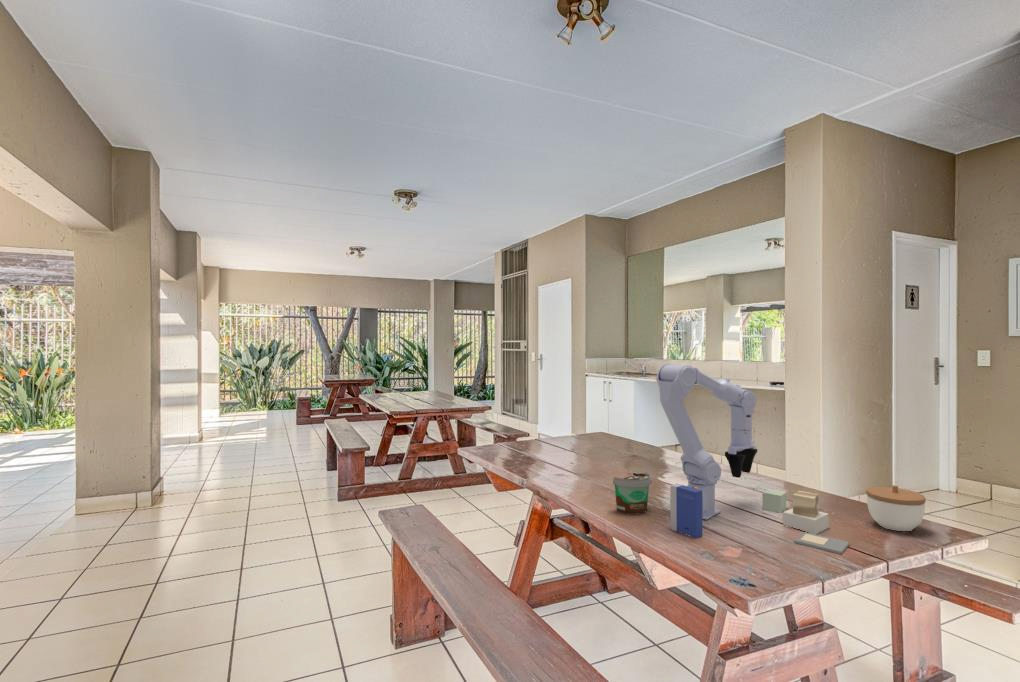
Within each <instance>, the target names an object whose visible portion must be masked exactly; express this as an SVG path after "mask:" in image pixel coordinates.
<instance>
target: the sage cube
mask: <svg viewBox="0 0 1020 682" xmlns="http://www.w3.org/2000/svg"><path fill="white" fill-rule="evenodd" d="M785 509H787V492H786V491H782V490H776V489H773V488H772V489H771V488H767V489H766V490H764V491H763V492H762V510H764V511H769V512H770V511H771V512H775V513H779V512H782V511H783V512H785V511H786V510H785ZM783 512H782V513H783Z"/></svg>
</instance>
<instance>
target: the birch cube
mask: <svg viewBox="0 0 1020 682" xmlns="http://www.w3.org/2000/svg"><path fill="white" fill-rule="evenodd" d="M819 496H820V495H819V494H818V493H815V492H814V493H813V492H810V491H809V492H808V491H804V490H803V491H802V490H797V491H796V492H794V493H793V494H792V508H793V514H798V515H803V516H808V517H813V518H815V516H816V515H817V514H818V513H819V512H820V511H819V510H820V501H819V499H820V497H819Z"/></svg>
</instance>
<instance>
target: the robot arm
mask: <svg viewBox="0 0 1020 682" xmlns="http://www.w3.org/2000/svg"><path fill="white" fill-rule="evenodd" d="M655 380H656V383H657V384H658V387H659V399H660V404H661V406H662V409H663V410H664V413H665V414H666V417H667V419H668V421H669V424H670V426H671V428H672V430H673V432H674V435H675V437H676V439H677V441H678V443H679V446H680V448H681V449H682V452H683V453H682V454H681V456H680V461H681V463H682V465H681V466H682V472H683V474H684V475H685V476H686V480H688V481H687V483H688V484H687V486H688V487H692V488H693V487H696V488H699V490H702V520H706V521H707V520H709V519H711V518H713V517H715V516H716V515H718V514H719V513H721V510H720V509H718V508H716V485H717V482H718V481H719V480H720V479H721V475H722V467H721V465H720V464H719V462H717V461H716V460H715V459H714V457H713V455H712V454H710V452H709V451H707V450H706V449H705V448H704V447H703V444H702V442H701V440H700V438H699V435H698V433H697V431H696V429H695V427H694V425H693V422H692V420H691V418H690V416H689V413H688V411H687V409H686V406H685V404H684V402H683V401H684V399H686V398H687V396H688V395H689V393H690V391H691V390H692V389H693V387H694V386H695V385H697V386H699V387H702V388H704V389H707V390H710V391H711V395H712V396H713V397H715V398H717V399H718V400H720V401H723V402H725V403H726V404H727V406H728V407H730V443H729V446H728V448H727V449H728V450H727V451H724V456H725V459H727V463H728V464H729V465H728V466H729V469H730V473H731V476H732V477H733V478H739V479H740V478H741V476H742V473H748V474H750V473H751V471H752V467H753V462H754V458H755V457H756V455H757V453H758V449H757V445H755V444H754V440H753V437H752V436H753V433H752V431H753V430H752V429H753V427H752V426H753V425H752V424H753V423H752V422H753V417H752V416H753V414H754V408H755V407H756V405H757V400H758V399H757V398H756V395H755V393H753V391H751V390H750V389H744V388H742V387H741V385H739V384H734V383H732V382H730V379H729V378H720V379H719V378H718V379H715V378H713V377H712V376H709V375H708V374H706V373H705V372H703V371H701V370H699V368H696V367H693V366H692V365H686V364H685V365H680V364H679V365H676V364H669V363H664V364H663V365H661V366H660V367H659V369H658V371H657V374H656V377H655Z"/></svg>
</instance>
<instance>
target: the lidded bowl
mask: <svg viewBox="0 0 1020 682" xmlns="http://www.w3.org/2000/svg"><path fill="white" fill-rule="evenodd" d="M865 491H866V504H867V508H868V512H869V514H870V516H871V517H872V519H873V521H875V522H876V523H877V524H878V526H879V525H880V526H882V527H884V528H888V529H894V530H899V531H911V532H913V530H914V529H915V528H917V527H918V526H919V525H920V524H921V523H922V521H923V519H924V517H925V511H926V510H925V509H926V508H925V507H926V497H925V495H923V494H922V493H919V492H917V491H912V490H908V489H905V488H900V487H899V485H894V484H892V485H891V486H871V487H867V488H866V490H865ZM880 526H879V527H880ZM882 527H881V528H882ZM884 528H883V529H884Z"/></svg>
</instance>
